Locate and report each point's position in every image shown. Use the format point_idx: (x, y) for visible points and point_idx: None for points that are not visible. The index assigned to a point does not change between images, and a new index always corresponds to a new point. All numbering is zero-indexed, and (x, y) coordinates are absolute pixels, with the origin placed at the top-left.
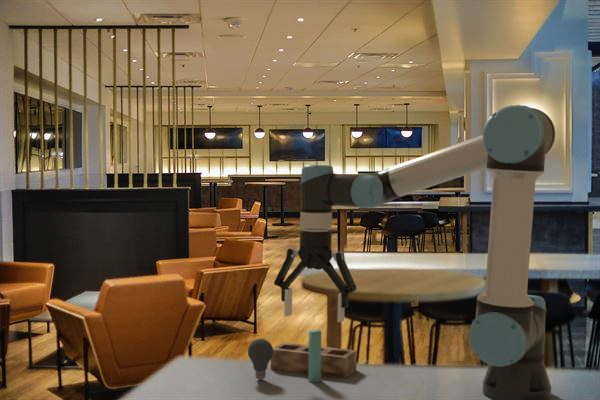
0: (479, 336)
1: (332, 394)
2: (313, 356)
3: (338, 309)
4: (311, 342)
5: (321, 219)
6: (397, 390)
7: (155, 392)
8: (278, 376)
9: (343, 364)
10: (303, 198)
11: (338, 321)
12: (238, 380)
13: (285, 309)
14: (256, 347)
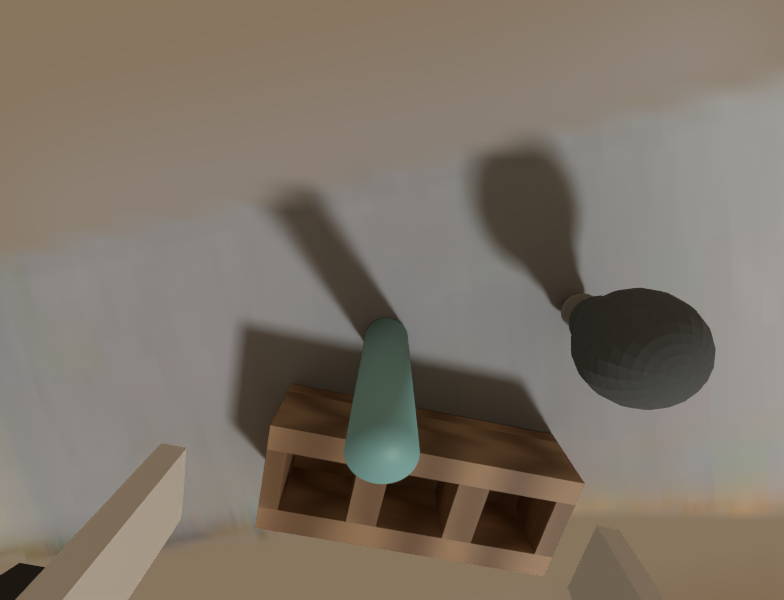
0: None
1: (293, 192)
2: (385, 356)
3: (103, 535)
4: (396, 390)
5: None
6: (90, 287)
7: None
8: (515, 360)
9: (286, 411)
10: None
11: (174, 450)
12: (650, 288)
13: (645, 582)
14: (677, 309)
